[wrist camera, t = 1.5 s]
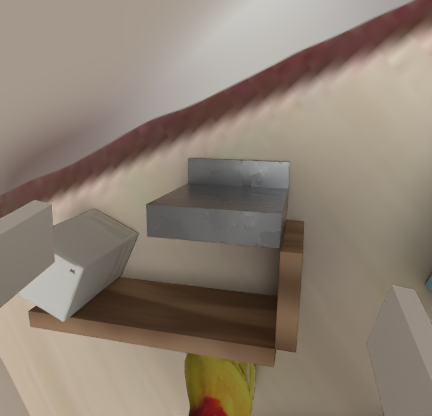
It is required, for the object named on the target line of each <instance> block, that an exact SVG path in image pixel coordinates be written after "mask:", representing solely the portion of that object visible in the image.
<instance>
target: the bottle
mask: <svg viewBox="0 0 432 416" xmlns="http://www.w3.org/2000/svg"><path fill="white" fill-rule="evenodd" d="M185 378H186V385H187V392H188V397H189V402H190V411H189V416H251V412H252V404H253V399H254V391H255V379H256V375H255V367H254V364H251V363H245V362H239V361H233V360H227V359H221V358H215V357H209V356H203V355H197V354H191V353H188V354H187V357H186V359H185Z"/></svg>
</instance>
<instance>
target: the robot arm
mask: <svg viewBox="0 0 432 416" xmlns="http://www.w3.org/2000/svg"><path fill="white" fill-rule="evenodd" d="M54 262H55V257H54V237H53V218H52V204H49V203H45V202H41V201H36V200H34V201H32V202H30V203H28V204H26V205H24V206H23V207H21V208H19V209H17V210H15V211H13V212H12V213H10V214H8V215H6V216H4V217H2V218H0V308H1V307H2V306H3V305H4V304H5V303H7V302H8V301H9V300H10V299H11V298H13V297H14V296H15V295H16V294H17V293H19V292H20V291H21V290H22V289H23V288H24V287H26V286H27V285H28V284H29V283H30V282H32V281H33V280H34V279H35V278H36V277H38V276H39V275H40V274H41V273H42V272H44V271H45V270H46V269H47V268H48V267H49V266H51V265H52V264H53V263H54ZM367 346H368V350H369V354H370V358H371V363H372V367H373V371H374V375H375V379H376V384H377V388H378V392H379V396H380V400H381V404H382V409H383V413H384V416H432V323H431V321H430V319H429V317H428V315H427V313H426V311H425V309H424V307H423V305H422V303H421V301H420V299H419V297H418V295H417V293H416V291H415V290H413V289H409V288H405V287H400V286H396V285H391V288H390V290H389V292H388V295H387V297H386V299H385V302H384V304H383V306H382V309H381V311H380V313H379V316H378V318H377V320H376V323H375V325H374V328H373V330H372V332H371V335H370V337H369V339H368V342H367Z"/></svg>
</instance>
